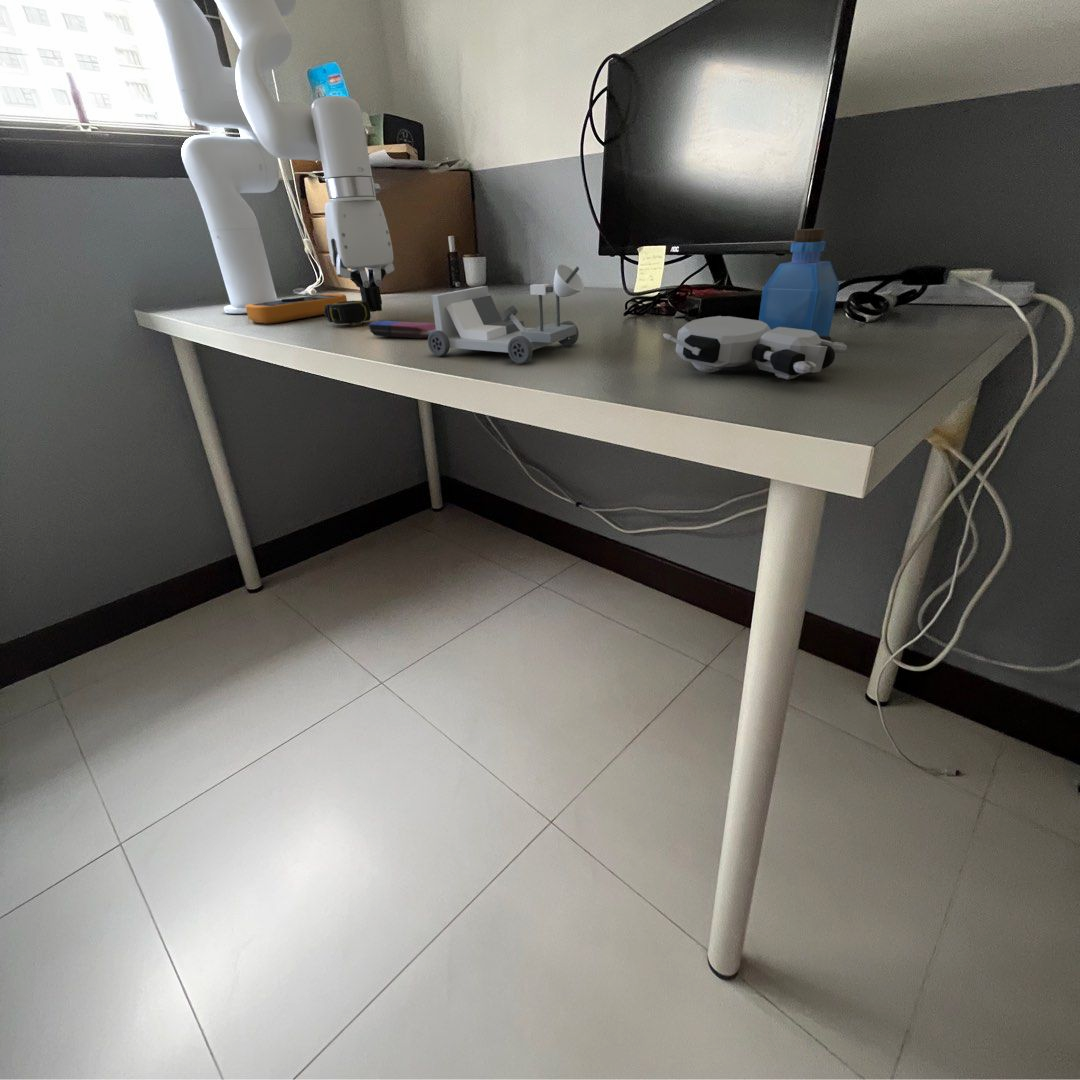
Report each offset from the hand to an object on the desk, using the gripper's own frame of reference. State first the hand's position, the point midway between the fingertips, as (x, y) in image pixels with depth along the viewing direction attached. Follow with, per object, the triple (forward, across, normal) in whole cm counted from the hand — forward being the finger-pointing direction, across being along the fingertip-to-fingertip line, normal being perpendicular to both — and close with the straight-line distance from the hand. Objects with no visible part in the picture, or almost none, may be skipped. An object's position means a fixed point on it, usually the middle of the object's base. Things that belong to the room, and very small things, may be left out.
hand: (373, 310), depth 102 cm
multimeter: (+2, +6, -19) cm, 20 cm away
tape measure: (+2, +6, +1) cm, 6 cm away
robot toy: (+3, 0, +72) cm, 72 cm away
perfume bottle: (+3, -16, +70) cm, 71 cm away
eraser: (+2, +7, +20) cm, 22 cm away
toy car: (+2, +6, +43) cm, 44 cm away
